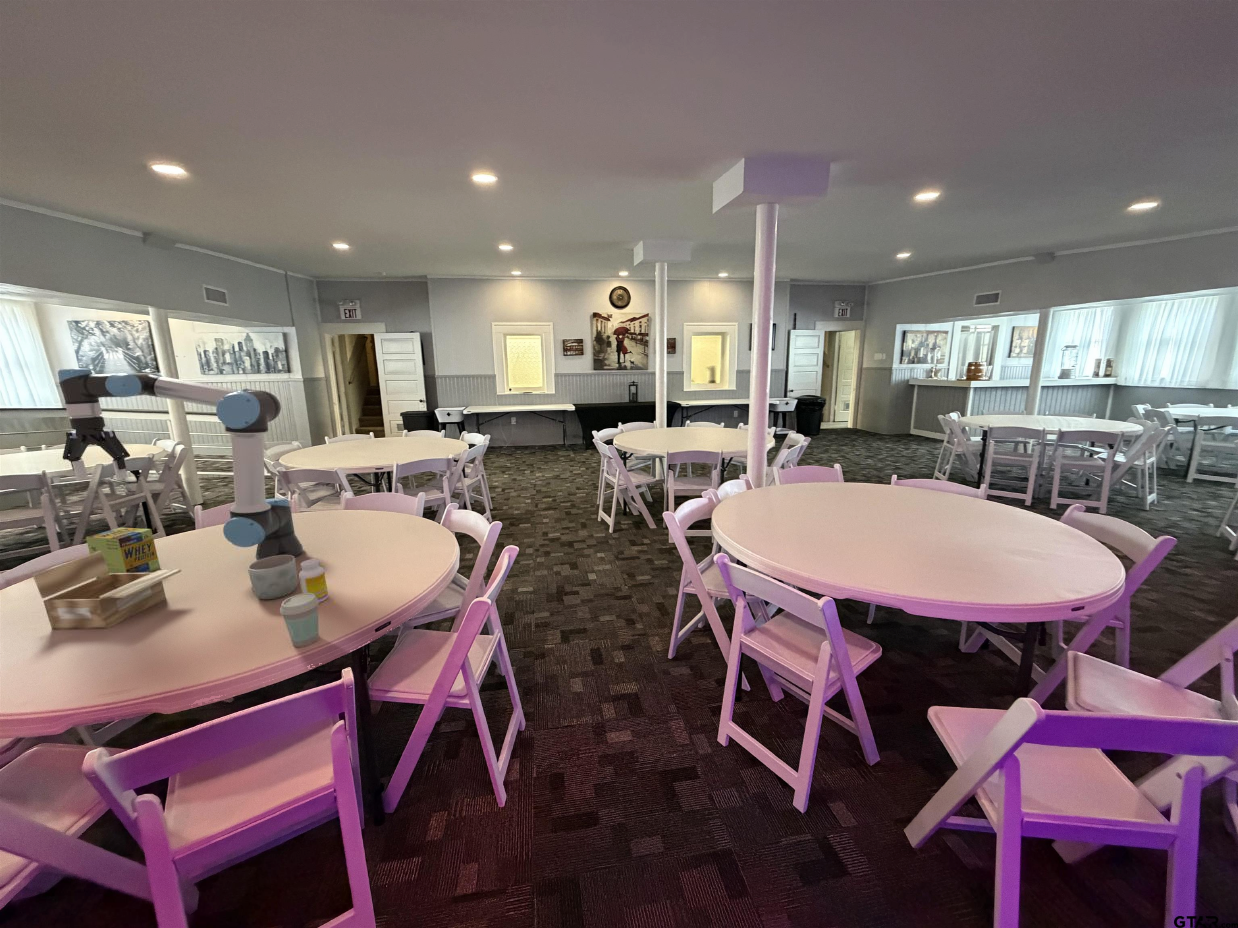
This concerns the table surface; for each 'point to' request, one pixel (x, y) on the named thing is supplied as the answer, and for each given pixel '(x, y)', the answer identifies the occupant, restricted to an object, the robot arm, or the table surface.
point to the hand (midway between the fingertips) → (102, 479)
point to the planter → (273, 576)
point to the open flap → (70, 574)
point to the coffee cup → (301, 618)
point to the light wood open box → (106, 600)
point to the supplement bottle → (313, 579)
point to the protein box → (126, 550)
